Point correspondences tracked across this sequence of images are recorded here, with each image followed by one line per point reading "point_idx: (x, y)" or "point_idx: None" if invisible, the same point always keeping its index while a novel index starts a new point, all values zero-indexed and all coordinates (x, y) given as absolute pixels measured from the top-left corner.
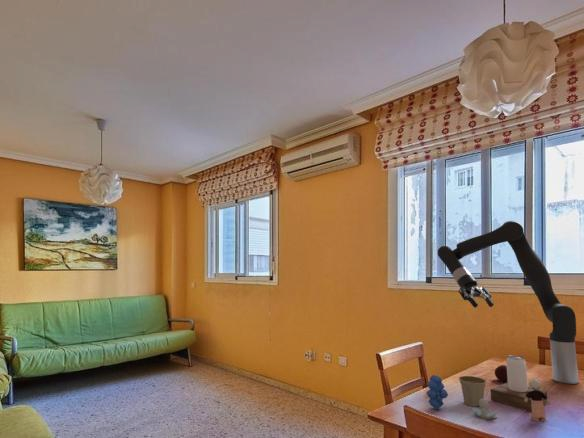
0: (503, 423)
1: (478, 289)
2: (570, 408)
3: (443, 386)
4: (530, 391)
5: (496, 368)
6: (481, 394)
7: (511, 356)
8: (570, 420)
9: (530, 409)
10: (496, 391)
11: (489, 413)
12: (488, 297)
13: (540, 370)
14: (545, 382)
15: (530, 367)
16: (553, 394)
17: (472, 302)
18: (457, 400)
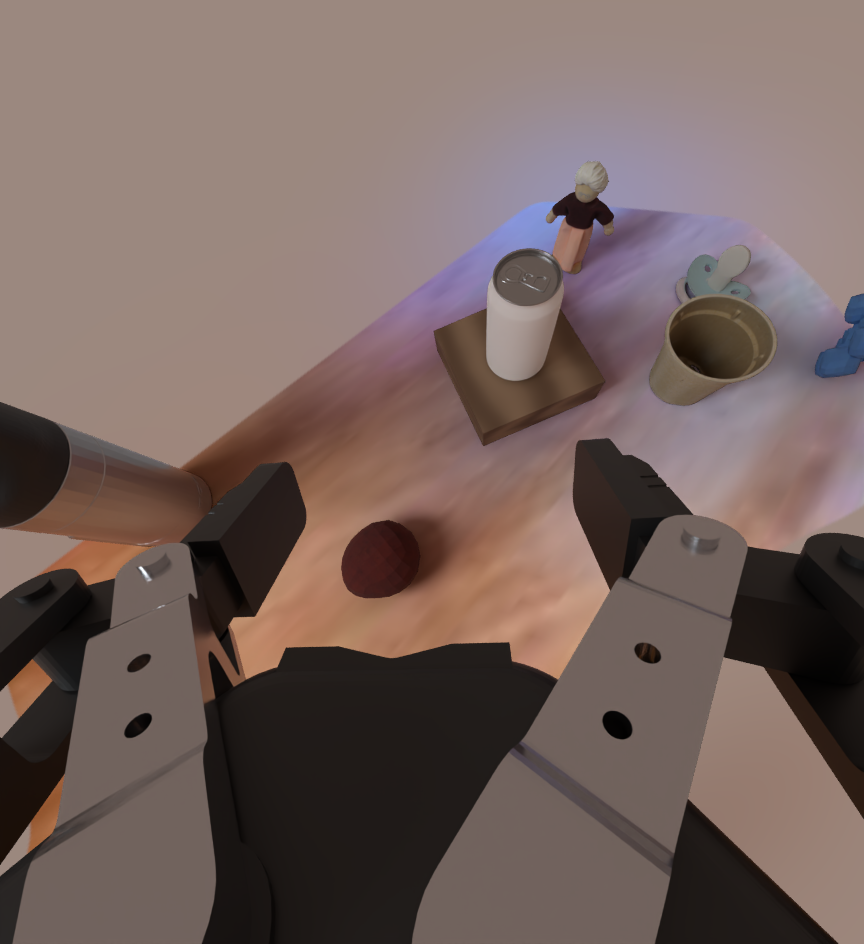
0: (680, 255)
1: (203, 771)
2: (415, 309)
3: (862, 328)
4: (601, 202)
5: (401, 574)
6: (684, 331)
7: (522, 306)
8: (490, 250)
9: None
10: (594, 366)
11: (695, 286)
12: (188, 549)
13: None
14: None
15: None
16: (352, 405)
17: (663, 494)
18: (716, 417)
